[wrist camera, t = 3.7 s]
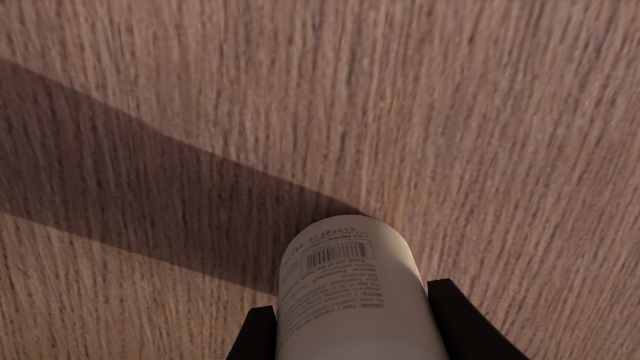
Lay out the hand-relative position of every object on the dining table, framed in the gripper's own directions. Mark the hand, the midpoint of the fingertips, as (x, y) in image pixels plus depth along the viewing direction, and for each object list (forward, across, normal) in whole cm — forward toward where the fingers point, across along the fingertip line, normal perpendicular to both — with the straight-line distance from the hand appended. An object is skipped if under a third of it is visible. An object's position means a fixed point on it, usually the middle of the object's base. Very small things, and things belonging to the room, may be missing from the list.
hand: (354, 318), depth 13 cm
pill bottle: (+3, 0, 0) cm, 3 cm away
